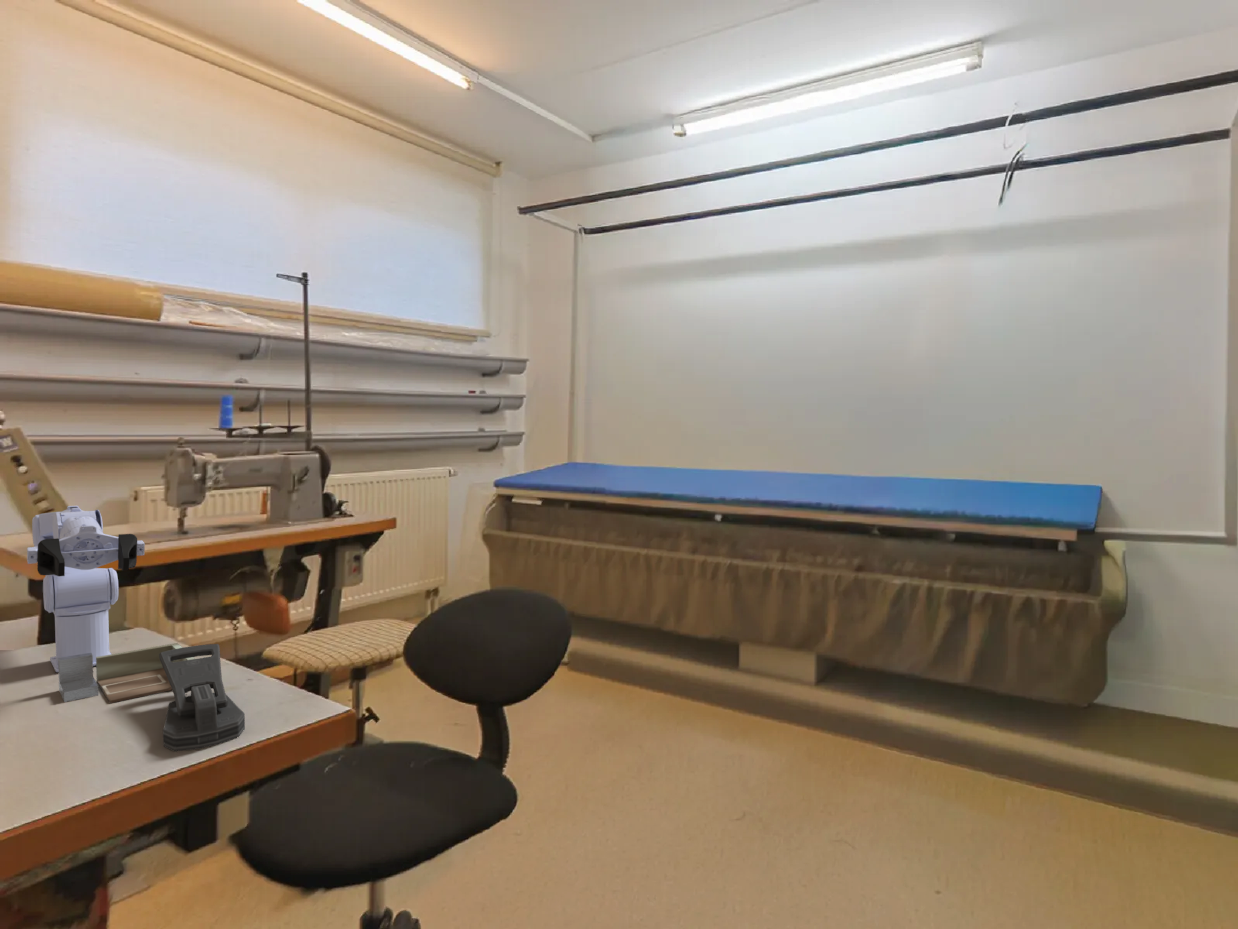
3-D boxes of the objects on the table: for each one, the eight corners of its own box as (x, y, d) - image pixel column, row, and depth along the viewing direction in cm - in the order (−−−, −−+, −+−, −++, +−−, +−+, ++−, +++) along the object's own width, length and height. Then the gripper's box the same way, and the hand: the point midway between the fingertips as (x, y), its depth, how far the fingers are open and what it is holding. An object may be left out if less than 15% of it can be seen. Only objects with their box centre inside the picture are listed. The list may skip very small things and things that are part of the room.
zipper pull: (222, 641, 109) (247, 687, 89) (223, 683, 109) (248, 738, 89) (154, 651, 104) (163, 702, 84) (155, 695, 104) (165, 757, 84)
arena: (96, 681, 110) (96, 657, 110) (177, 665, 117) (177, 642, 117) (110, 703, 101) (109, 676, 101) (197, 684, 108) (196, 659, 108)
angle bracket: (59, 690, 106) (58, 658, 106) (91, 684, 109) (90, 652, 108) (64, 702, 101) (63, 668, 101) (98, 695, 104) (97, 662, 104)
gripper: (25, 520, 108) (31, 544, 98) (138, 516, 118) (153, 537, 108) (25, 565, 109) (30, 592, 99) (137, 556, 119) (152, 581, 109)
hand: (94, 566), depth 103 cm, fingers open, 7 cm apart
